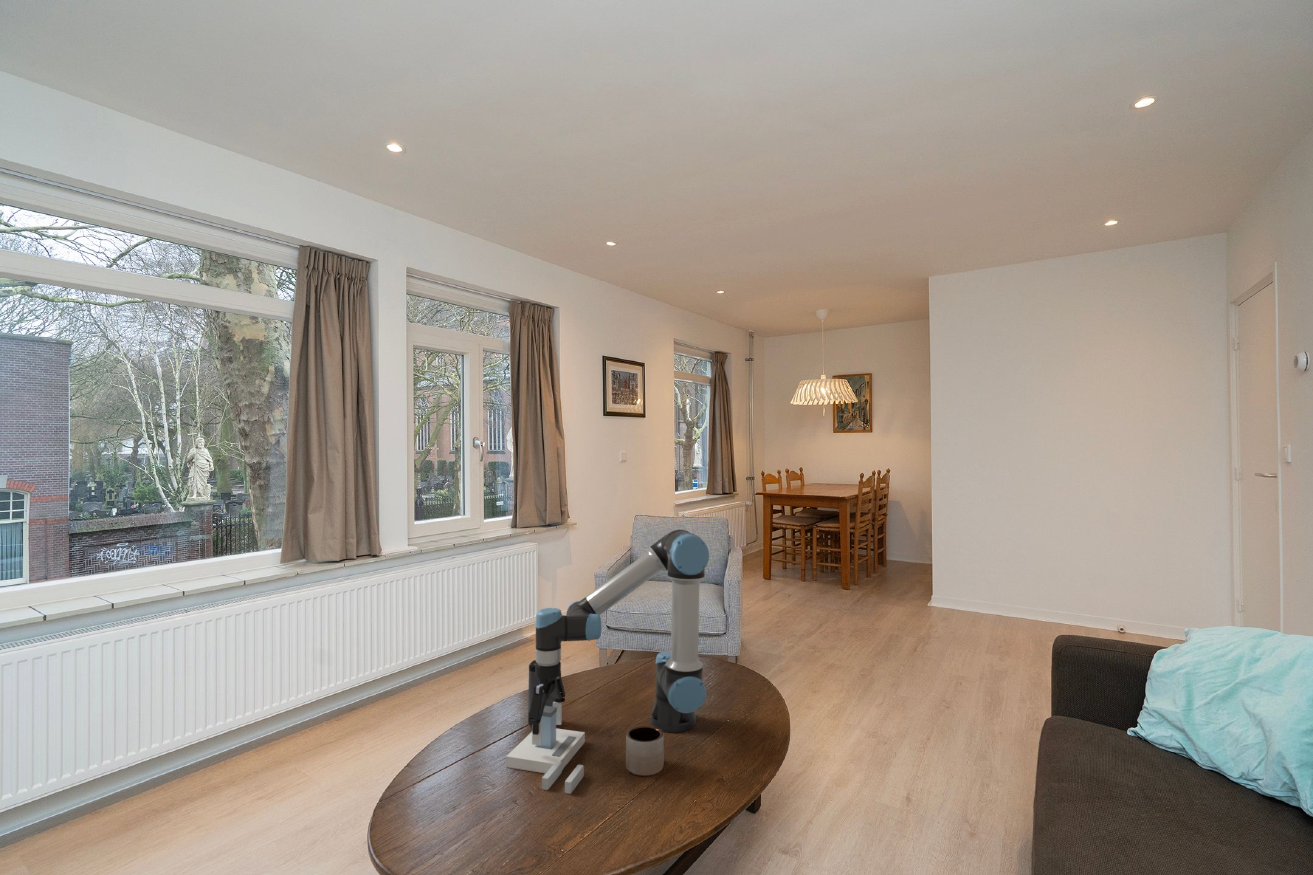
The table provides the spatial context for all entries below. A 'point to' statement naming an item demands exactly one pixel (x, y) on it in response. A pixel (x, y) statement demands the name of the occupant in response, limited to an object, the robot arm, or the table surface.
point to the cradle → (570, 781)
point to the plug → (548, 727)
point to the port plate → (545, 752)
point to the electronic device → (532, 682)
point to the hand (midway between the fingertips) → (547, 733)
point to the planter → (644, 750)
